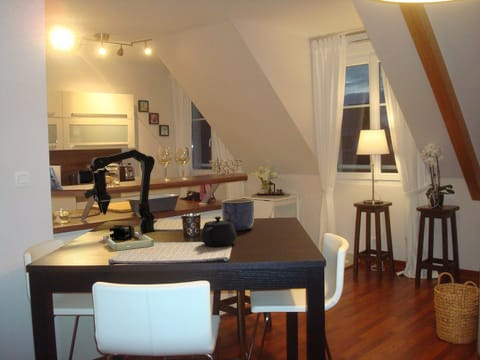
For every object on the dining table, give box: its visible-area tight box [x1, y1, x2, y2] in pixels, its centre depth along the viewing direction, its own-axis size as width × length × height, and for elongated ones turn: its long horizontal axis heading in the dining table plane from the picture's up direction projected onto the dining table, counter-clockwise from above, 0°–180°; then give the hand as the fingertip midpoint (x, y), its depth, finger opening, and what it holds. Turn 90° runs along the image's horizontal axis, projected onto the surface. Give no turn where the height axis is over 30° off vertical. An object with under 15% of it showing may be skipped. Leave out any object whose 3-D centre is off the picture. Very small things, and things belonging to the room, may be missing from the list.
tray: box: [107, 234, 155, 252], centre depth 215 cm, size 17×16×3 cm
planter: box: [221, 198, 255, 232], centre depth 244 cm, size 17×17×15 cm
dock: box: [102, 231, 143, 244], centre depth 230 cm, size 16×10×3 cm, turn 116°
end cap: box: [109, 224, 136, 242], centre depth 230 cm, size 10×7×7 cm
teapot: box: [200, 216, 238, 248], centre depth 209 cm, size 25×16×12 cm, turn 156°
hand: (103, 213), depth 238 cm, fingers open, 9 cm apart
